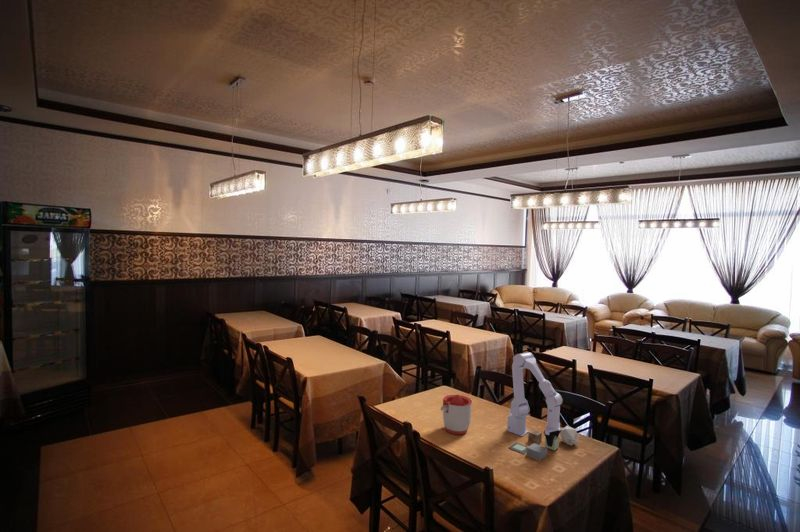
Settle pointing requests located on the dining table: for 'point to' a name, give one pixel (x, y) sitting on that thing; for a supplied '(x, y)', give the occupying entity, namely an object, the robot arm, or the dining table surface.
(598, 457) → the dining table surface
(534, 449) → the slate base
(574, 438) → the grey rock
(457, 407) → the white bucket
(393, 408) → the dining table surface
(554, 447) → the sage block
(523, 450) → the grey square plate
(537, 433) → the walnut block
